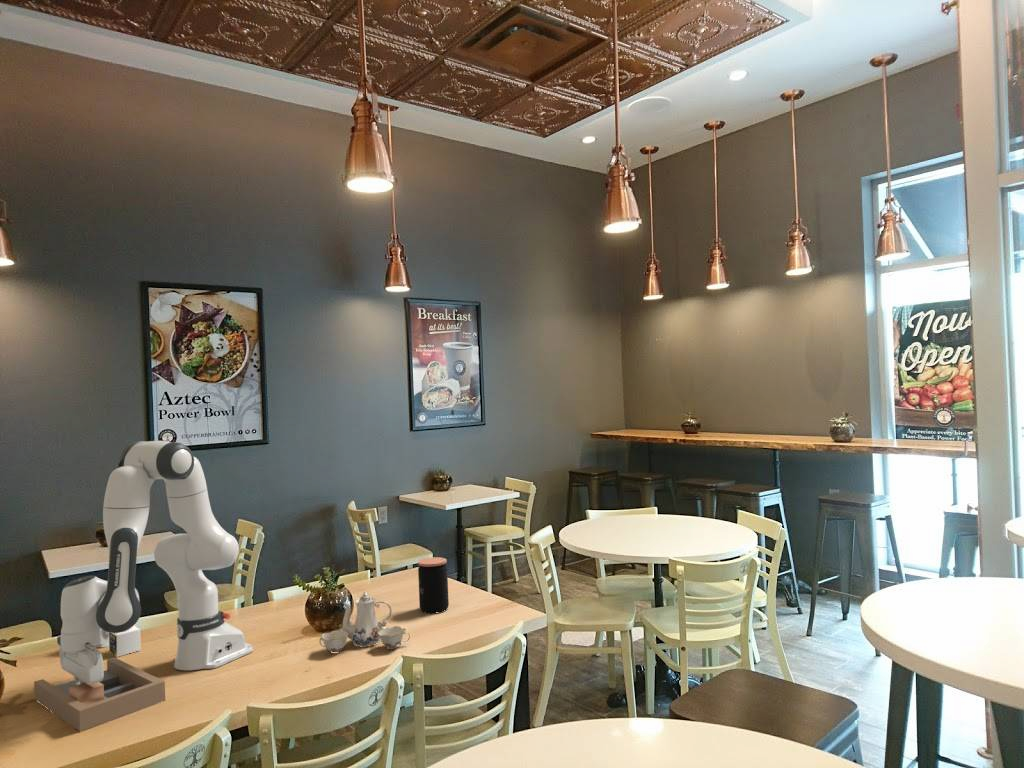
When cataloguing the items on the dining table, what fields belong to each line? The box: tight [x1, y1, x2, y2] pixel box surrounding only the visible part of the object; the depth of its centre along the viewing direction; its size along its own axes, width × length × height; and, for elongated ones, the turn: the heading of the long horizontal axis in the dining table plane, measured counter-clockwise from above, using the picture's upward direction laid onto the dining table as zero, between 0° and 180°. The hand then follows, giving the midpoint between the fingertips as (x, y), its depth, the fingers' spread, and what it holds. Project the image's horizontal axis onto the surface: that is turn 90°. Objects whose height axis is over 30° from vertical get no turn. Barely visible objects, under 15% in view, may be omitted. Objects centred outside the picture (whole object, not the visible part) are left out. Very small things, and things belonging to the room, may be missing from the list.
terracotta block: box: [69, 682, 104, 706], centre depth 171 cm, size 6×6×4 cm
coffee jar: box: [417, 556, 450, 614], centre depth 244 cm, size 11×11×18 cm
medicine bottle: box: [108, 624, 142, 658], centre depth 214 cm, size 7×7×12 cm
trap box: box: [33, 656, 166, 733], centre depth 178 cm, size 20×32×5 cm, turn 52°
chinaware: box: [319, 591, 411, 652], centre depth 210 cm, size 28×17×17 cm, turn 100°
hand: (82, 692), depth 175 cm, fingers closed
